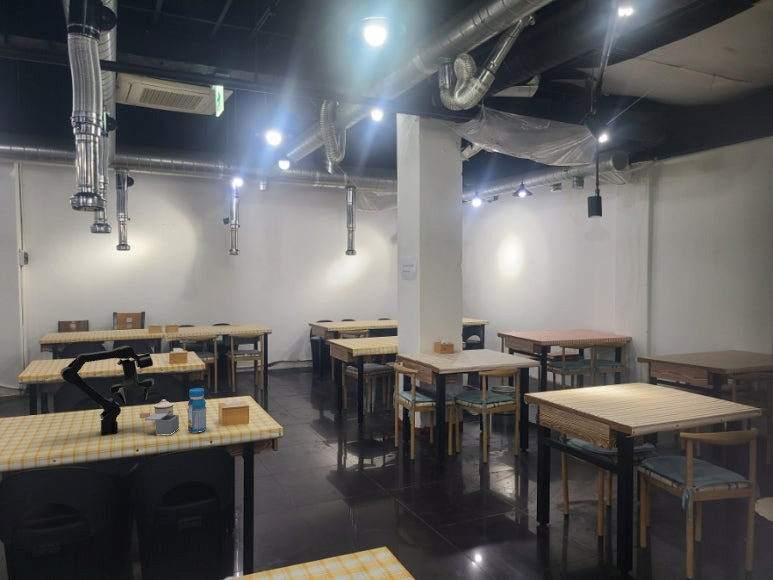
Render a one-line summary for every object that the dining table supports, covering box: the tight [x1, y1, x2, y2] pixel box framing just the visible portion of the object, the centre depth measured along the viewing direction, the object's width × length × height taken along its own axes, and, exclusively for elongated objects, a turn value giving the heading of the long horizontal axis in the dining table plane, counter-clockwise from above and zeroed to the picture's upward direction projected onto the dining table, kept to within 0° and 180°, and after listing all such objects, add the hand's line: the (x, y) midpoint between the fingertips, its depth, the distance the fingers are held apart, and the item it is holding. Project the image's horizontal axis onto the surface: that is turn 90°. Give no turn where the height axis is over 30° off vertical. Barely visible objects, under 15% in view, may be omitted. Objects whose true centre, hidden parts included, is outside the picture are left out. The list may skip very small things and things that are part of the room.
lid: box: [139, 411, 168, 422], centre depth 246 cm, size 11×10×2 cm
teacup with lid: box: [153, 399, 174, 425], centre depth 264 cm, size 12×9×12 cm
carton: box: [155, 414, 180, 435], centre depth 246 cm, size 7×10×7 cm
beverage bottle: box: [187, 387, 207, 433], centre depth 248 cm, size 8×8×20 cm
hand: (135, 402), depth 252 cm, fingers open, 9 cm apart
